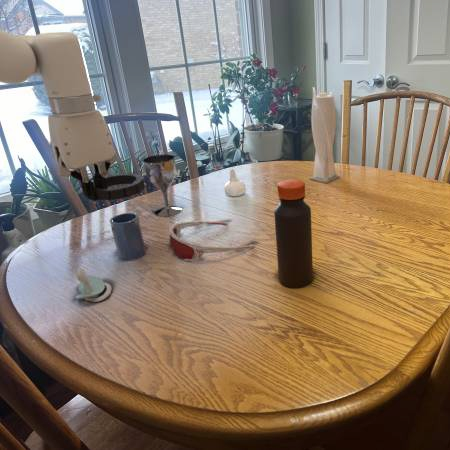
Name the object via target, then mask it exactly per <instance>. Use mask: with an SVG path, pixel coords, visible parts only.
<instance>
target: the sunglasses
mask: <svg viewBox="0 0 450 450" xmlns="http://www.w3.org/2000/svg"><path fill="white" fill-rule="evenodd" d="M200 225H201V226H203V225H216V226H217V225H218V226H225V227H226V226H228V225H229V223H228V222H221V221H201V220H200V221H197V220H196V221H195V220H194V221H184V222H177V223H174V224H172V225H171V226H170V227H169V229H168V230H169V232H168V233H169V242H170V245H171V249H172V251H174V252H175V254H176V255H177V257H178V258H179V259H180V260H182V261H187V262H196V261H198V260H199V259H202V258H203V256H204V254H216V253H217V254H218V253H225V252H231V251H239V250H250V249H253V248H255V247H256V244H249V245H242V246H240V245H239V246H210V245H202V244H198V243H194V242H191V241H187V240H185V239H183V238H181V237H180V235H181V231H182V230H184V229H187V228H189V227H190V228H191V227H195V226H200Z"/></svg>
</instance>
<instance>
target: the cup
mask: <svg viewBox="0 0 450 450" xmlns="http://www.w3.org/2000/svg"><path fill="white" fill-rule="evenodd" d="M109 222H110V223H109V224H110V228H111V232H112V236H113V241H114V244H115V248H116V253H117V257H118V259H119V260H120V261H125V262H128V261H129V262H130V261H135V260H138V259H140V258H142V257H144V256H145V255H146V253H147V252H146V245H145V241H144V236H143V232H142V231H143V230H142V226H141V223H140V217H139V215H138V213H135V212H123V213H120V214H116V215H114V216H112V217H111V218H110V219H109Z"/></svg>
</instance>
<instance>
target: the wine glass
mask: <svg viewBox="0 0 450 450" xmlns="http://www.w3.org/2000/svg"><path fill="white" fill-rule="evenodd" d="M142 163H143V168H144V172H145V174H146V177H147V179H148V181H149V182H150V183H151V184H152V185H153V186H154V187H156V188H157V189H158V190H160V192H161V193H162V197H163V199H164V205H165V206H164V207H162V208H161V207H160V208H159V209H156V210H155V212H154V215H155V216H156V217H162V218H163V217H164V218H165V217H172V216H176V215H178V214H180V213H181V212H182V208H181V207H179V206H175V205H170V204H169V199H168V198H169V197H168V191H169V188H170V186H171V185H172V183H173V182H174V181H175V178H176V174H177V172H176V171H177V169H176V168H177V167H176V160H175V156H174V155H172V154H155V155H150V156H147V157H145V158H143V160H142Z"/></svg>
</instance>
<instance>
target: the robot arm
mask: <svg viewBox="0 0 450 450" xmlns="http://www.w3.org/2000/svg"><path fill="white" fill-rule="evenodd" d="M37 76H41V78H42V82H43V86H44V89H45V93H46V96H47V99H48V104H49V106H50V110H51V113H52V114H51V115H48V116H47V121H48V133H49V139H50V145H51V149H52V153H53V158H54V160H55V163H56V165H57V170H56V174H57V175H58V176H60V177H68V178H70V177H71V178H74V179H75V180H77V181H79V182H80V185H81V189H82V193H83V196H84V197H85V198H86V199H88V200H90V201H92V202H95V201H98V200H97V195H96V191H95V188H94V185H95V187H98V188H101V189H109V187H107V184H106V180H105V177H106V176H108V172H109V170H110V168H111V166H112V165H114V164H115V163H116V162H118V161H119V157H118V156H117V154H116V153H115V147H114V143H113V139H112V136H111V133H110V131H109V127H108V125H107V122H106V119H105V117H104V115H103V113H102V111H101V110H100V108H97V107H98V106H97V105H98V104H97V103H99V102H101V101H102V99H101V95H100V94H95V92H93V89H92V84H91V80H90V76H89V71H88V68H87V64H86V59H85V56H84V52H83V47H82V43H81V39H80V38H79V36H78V35H77V34H76V33H73V32H67V31H66V32H64V31H63V32H61V31H60V32H58V31H57V32H45V33H38V34H36V35H26V34H15V33H14V34H12V33H8V32H7V31H5V30H3V29H2V28H0V83H3V84H7V85H18V84H19V85H20V84H22V83H24V82H27V81H28V80H29V79H31V78H32V77H37ZM90 166H92V169H93V174H94V175H92V180H93V181H94V184H93V181H92V180H91V179H90V177H89V176H90V175H89V173H88V170H87V167H90Z"/></svg>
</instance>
